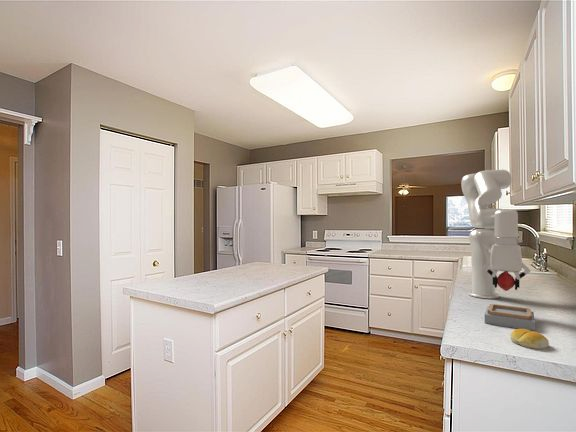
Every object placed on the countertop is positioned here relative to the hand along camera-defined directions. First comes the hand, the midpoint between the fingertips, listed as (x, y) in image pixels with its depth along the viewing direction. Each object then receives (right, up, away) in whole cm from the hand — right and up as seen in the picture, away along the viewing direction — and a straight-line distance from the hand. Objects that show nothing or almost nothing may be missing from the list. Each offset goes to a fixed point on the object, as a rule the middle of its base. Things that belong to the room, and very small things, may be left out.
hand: (505, 287), depth 126 cm
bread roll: (-14, -10, -31) cm, 36 cm away
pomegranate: (0, -1, 0) cm, 1 cm away
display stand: (-6, -10, -11) cm, 16 cm away
